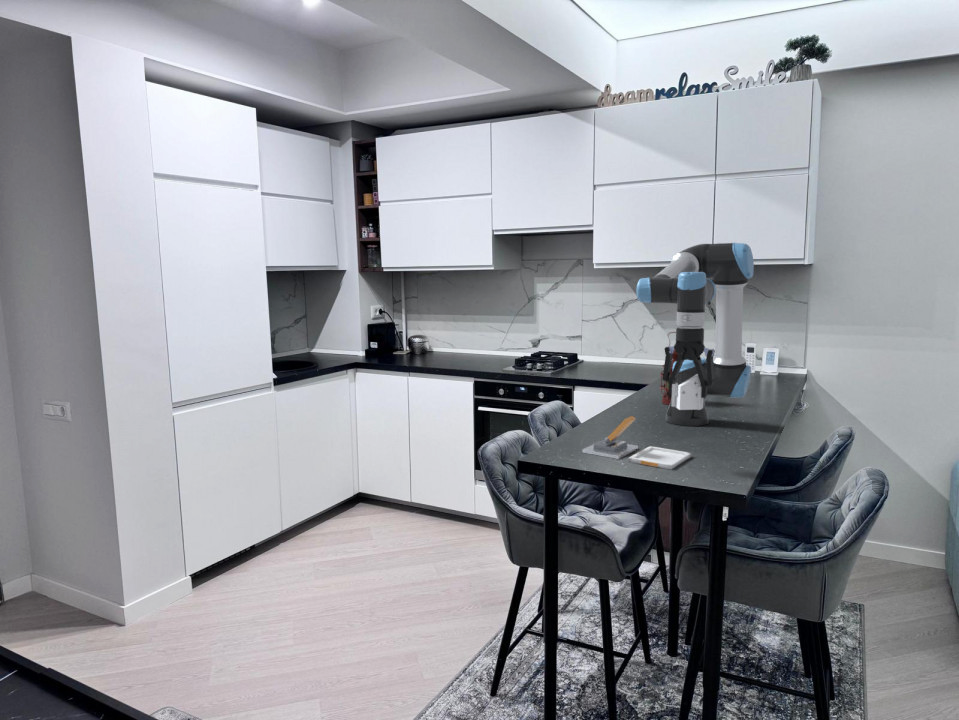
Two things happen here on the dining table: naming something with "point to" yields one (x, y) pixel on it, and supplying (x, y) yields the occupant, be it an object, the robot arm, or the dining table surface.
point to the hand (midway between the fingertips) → (687, 407)
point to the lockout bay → (660, 457)
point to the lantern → (666, 394)
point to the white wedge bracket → (688, 394)
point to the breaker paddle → (619, 430)
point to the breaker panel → (610, 449)
